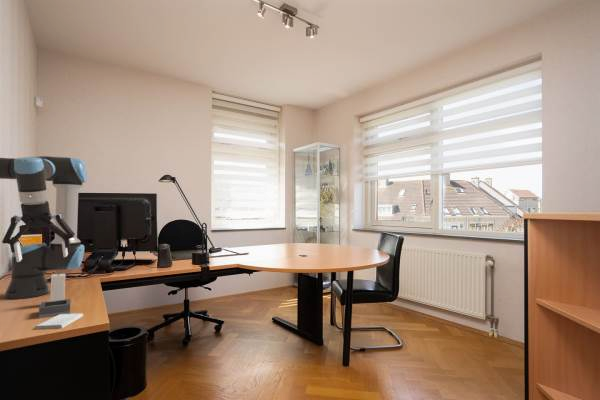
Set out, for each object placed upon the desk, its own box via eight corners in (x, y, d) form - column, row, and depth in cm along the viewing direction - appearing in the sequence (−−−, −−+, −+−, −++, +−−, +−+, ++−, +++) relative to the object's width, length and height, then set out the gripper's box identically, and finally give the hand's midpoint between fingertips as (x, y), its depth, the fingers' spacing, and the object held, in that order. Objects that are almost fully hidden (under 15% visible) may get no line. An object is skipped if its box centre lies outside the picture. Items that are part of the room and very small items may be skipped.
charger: (50, 303, 130) (52, 273, 130) (64, 301, 132) (65, 272, 133) (50, 306, 126) (51, 275, 127) (63, 304, 129) (65, 274, 129)
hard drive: (62, 324, 102) (83, 312, 114) (34, 326, 101) (58, 313, 113) (61, 330, 102) (83, 317, 114) (34, 331, 101) (58, 318, 113)
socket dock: (41, 311, 119) (41, 302, 119) (70, 307, 124) (70, 298, 124) (38, 318, 112) (39, 308, 112) (69, 313, 117) (70, 304, 117)
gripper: (-18, 206, 100) (-7, 267, 106) (75, 202, 111) (81, 257, 116) (-8, 201, 107) (3, 258, 112) (79, 197, 117) (85, 250, 122)
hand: (43, 258), depth 114 cm, fingers open, 13 cm apart
